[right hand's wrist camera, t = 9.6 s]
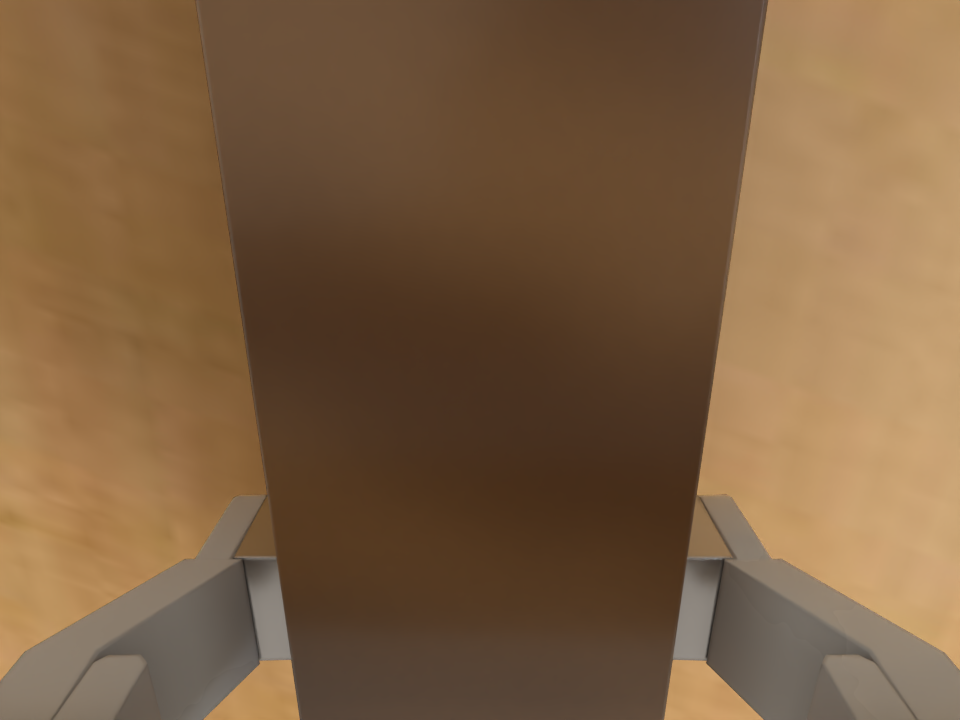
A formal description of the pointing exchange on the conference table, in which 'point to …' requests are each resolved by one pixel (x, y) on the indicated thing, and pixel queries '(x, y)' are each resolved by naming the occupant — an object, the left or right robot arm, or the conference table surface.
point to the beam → (481, 333)
